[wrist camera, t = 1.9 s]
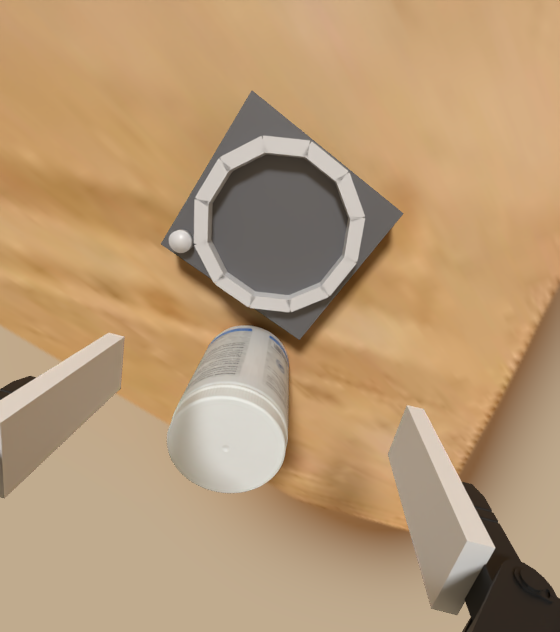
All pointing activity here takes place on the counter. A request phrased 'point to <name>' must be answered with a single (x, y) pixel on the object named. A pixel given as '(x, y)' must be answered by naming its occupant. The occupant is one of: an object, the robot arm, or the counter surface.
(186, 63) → the counter surface
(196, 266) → the grey square ring block
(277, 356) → the supplement tub
